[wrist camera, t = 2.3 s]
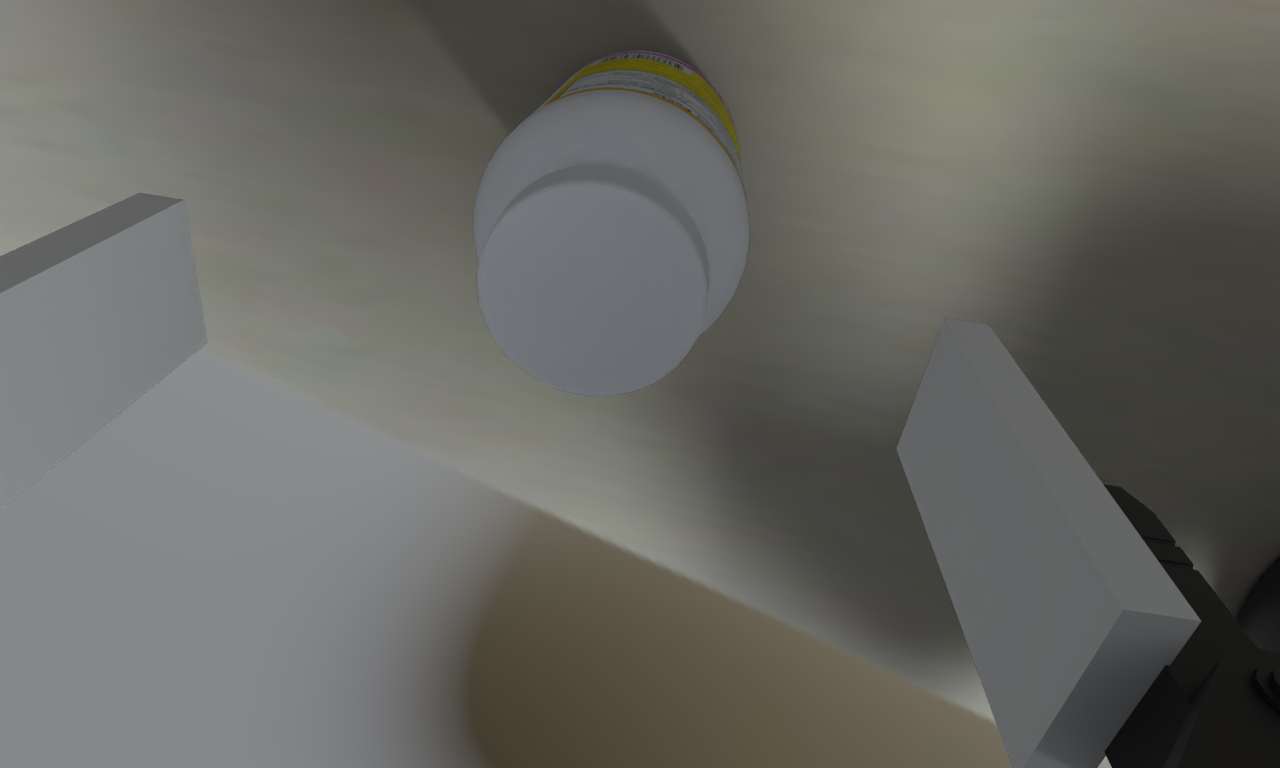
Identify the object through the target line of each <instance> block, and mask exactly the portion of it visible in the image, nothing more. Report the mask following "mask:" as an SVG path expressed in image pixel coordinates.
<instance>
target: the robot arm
mask: <svg viewBox="0 0 1280 768" xmlns="http://www.w3.org/2000/svg"><path fill="white" fill-rule="evenodd" d="M207 342H208V341H207V335H206V329H205V323H204V317H203V311H202V305H201V299H200V293H199V287H198V281H197V275H196V269H195V263H194V257H193V251H192V245H191V239H190V233H189V227H188V221H187V215H186V209H185V203H184V200H182V199H176V198H169V197H163V196H156V195H150V194H144V193H138V194H136V195H134V196H132V197H129V198H127V199H125V200H123V201H121V202H118V203H116V204H114V205H112V206H110V207H107V208H105V209H103V210H101V211H99V212H97V213H94V214H92V215H90V216H88V217H86V218H83V219H81V220H79V221H77V222H75V223H72V224H70V225H68V226H66V227H64V228H61V229H59V230H57V231H55V232H53V233H51V234H48V235H46V236H44V237H42V238H40V239H37V240H35V241H33V242H31V243H29V244H26V245H24V246H22V247H20V248H18V249H16V250H13V251H11V252H9V253H7V254H5V255H2V256H0V512H1V511H2V510H3V509H4V508H5V507H6V506H8V505H9V504H10V503H12V502H13V501H14V500H15V499H17V498H18V497H19V496H20V495H21V494H23V493H24V492H25V491H26V490H28V489H29V488H30V487H31V486H32V485H34V484H35V483H36V482H37V481H39V480H40V479H41V478H42V477H43V476H45V475H46V474H47V473H48V472H50V471H51V470H52V469H53V468H54V467H56V466H57V465H58V464H59V463H61V462H62V461H63V460H64V459H65V458H66V457H68V456H69V455H70V454H72V453H73V452H74V451H75V450H76V449H78V448H79V447H80V446H81V445H83V444H84V443H85V442H86V441H87V440H89V439H90V438H91V437H92V436H94V435H95V434H96V433H97V432H98V431H100V430H101V429H102V428H103V427H105V426H106V425H107V424H108V423H109V422H111V421H112V420H113V419H114V418H116V417H117V416H118V415H119V414H121V413H122V412H123V411H124V410H125V409H126V408H128V407H129V406H130V405H131V404H133V403H134V402H135V401H136V400H137V399H139V398H140V397H141V396H143V395H144V394H145V393H146V392H147V391H148V390H150V389H151V388H152V387H154V386H155V385H156V384H157V383H158V382H160V381H161V380H162V379H163V378H165V376H167V375H168V374H169V373H171V372H172V371H173V370H174V369H175V368H177V367H178V366H179V365H180V364H182V363H183V362H184V361H185V360H186V359H188V358H189V357H190V356H191V355H193V354H194V353H195V352H196V351H198V350H199V349H200V348H201V347H202V346H204V345H205V344H206V343H207ZM896 450H897V452H898V455H899V458H900V460H901V463H902V466H903V469H904V471H905V474H906V477H907V480H908V482H909V485H910V488H911V491H912V493H913V496H914V499H915V502H916V504H917V507H918V510H919V513H920V515H921V518H922V521H923V524H924V526H925V529H926V532H927V534H928V537H929V540H930V543H931V545H932V548H933V551H934V554H935V556H936V559H937V562H938V565H939V567H940V570H941V573H942V576H943V578H944V581H945V584H946V587H947V589H948V592H949V595H950V598H951V600H952V603H953V606H954V608H955V611H956V614H957V617H958V619H959V622H960V625H961V628H962V630H963V633H964V636H965V639H966V641H967V644H968V647H969V650H970V652H971V655H972V658H973V661H974V663H975V666H976V669H977V671H978V674H979V677H980V680H981V682H982V685H983V688H984V691H985V693H986V696H987V699H988V702H989V704H990V707H991V710H992V713H993V715H994V718H995V721H996V724H997V726H998V729H999V732H1000V734H1001V737H1002V740H1003V743H1004V745H1005V748H1006V751H1007V753H1008V756H1009V759H1010V762H1011V764H1012V767H1013V768H1097V767H1098V766H1099V764H1100V763H1101V762H1102V760H1103V759H1104V757H1105V756H1107V758H1108V760H1109V762H1110V764H1111V766H1112V768H1280V559H1279V560H1278V561H1277V562H1276V563H1275V564H1274V565H1273V566H1272V567H1271V568H1270V569H1269V571H1268V572H1267V573H1266V574H1265V575H1264V576H1263V577H1262V579H1261V580H1260V581H1259V582H1258V584H1257V585H1256V586H1255V588H1254V589H1253V591H1252V592H1251V594H1250V595H1249V597H1248V598H1247V600H1246V602H1245V604H1244V606H1243V608H1242V610H1241V612H1240V614H1239V617H1238V620H1237V621H1236V619H1235V618H1234V617H1233V615H1232V614H1231V613H1230V612H1229V610H1228V609H1227V608H1226V606H1225V605H1224V604H1223V602H1222V601H1221V600H1220V599H1219V597H1218V596H1217V595H1216V593H1215V592H1214V591H1213V589H1212V588H1211V587H1210V586H1209V584H1208V583H1207V582H1206V580H1205V579H1204V578H1203V576H1202V575H1201V574H1200V572H1199V571H1198V570H1193V563H1192V562H1191V561H1190V559H1189V558H1188V557H1187V556H1186V554H1185V553H1184V552H1183V550H1182V549H1181V548H1180V547H1177V546H1175V542H1176V541H1175V540H1174V539H1173V537H1172V536H1171V535H1170V533H1169V532H1168V531H1167V530H1166V528H1165V527H1164V526H1163V524H1162V523H1161V522H1160V520H1159V519H1158V518H1157V517H1156V515H1155V514H1154V513H1153V512H1152V511H1150V510H1149V509H1148V508H1147V507H1145V506H1144V505H1143V504H1142V503H1140V502H1139V501H1138V500H1137V499H1135V498H1134V497H1133V496H1131V495H1130V494H1129V493H1128V492H1126V491H1125V490H1124V489H1123V488H1121V487H1117V486H1110V485H1104V484H1103V483H1102V482H1101V481H1100V479H1099V478H1098V476H1097V475H1096V474H1095V472H1094V471H1093V469H1092V468H1091V467H1090V465H1089V464H1088V462H1087V461H1086V460H1085V458H1084V457H1083V455H1082V454H1081V453H1080V451H1079V450H1078V448H1077V447H1076V446H1075V444H1074V443H1073V441H1072V440H1071V439H1070V437H1069V436H1068V435H1067V433H1066V432H1065V430H1064V429H1063V428H1062V426H1061V425H1060V423H1059V422H1058V421H1057V419H1056V418H1055V416H1054V415H1053V414H1052V412H1051V411H1050V409H1049V408H1048V407H1047V405H1046V404H1045V402H1044V401H1043V400H1042V398H1041V397H1040V395H1039V394H1038V393H1037V391H1036V390H1035V388H1034V387H1033V386H1032V384H1031V383H1030V382H1029V380H1028V379H1027V377H1026V376H1025V375H1024V373H1023V372H1022V370H1021V369H1020V368H1019V366H1018V365H1017V363H1016V362H1015V361H1014V359H1013V358H1012V356H1011V355H1010V354H1009V352H1008V351H1007V349H1006V348H1005V347H1004V345H1003V344H1002V342H1001V341H1000V340H999V338H998V337H997V335H996V334H995V333H994V331H993V330H992V328H991V327H990V326H989V325H986V324H980V323H973V322H967V321H960V320H954V319H947V318H945V319H944V321H943V324H942V327H941V329H940V332H939V335H938V338H937V340H936V343H935V346H934V348H933V351H932V354H931V356H930V359H929V362H928V365H927V367H926V370H925V373H924V375H923V378H922V381H921V383H920V386H919V389H918V392H917V394H916V397H915V400H914V402H913V405H912V408H911V411H910V413H909V416H908V419H907V421H906V424H905V427H904V429H903V432H902V435H901V438H900V440H899V443H898V446H897V448H896Z"/></svg>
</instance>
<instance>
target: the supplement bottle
mask: <svg viewBox="0 0 1280 768" xmlns="http://www.w3.org/2000/svg"><path fill="white" fill-rule="evenodd" d="M473 228H474V242H475V249H476V254H477V258H478V262H479V264H478V273H477V293H478V298H479V304H480V308H481V312H482V315H483V317H484V320H485V323H486V325H487V327H488V329H489V331H490V333H491V335H492V337H493V338H494V340H495V342H496V343H497V344H498V346H499V347H500V348H501V350H502V351H503V352H504V353H505V354H506V356H507V357H508V358H509V359H510V360H511V361H513V362H514V363H515V364H516V365H517V366H518V367H519V368H520V369H522V370H523V371H525V372H526V373H527V374H529V375H530V376H532V377H534V378H536V379H537V380H539V381H541V382H543V383H545V384H547V385H549V386H551V387H553V388H556V389H559V390H562V391H565V392H569V393H573V394H578V395H585V396H613V395H620V394H625V393H629V392H633V391H637V390H639V389H642V388H644V387H646V386H649V385H651V384H653V383H655V382H657V381H658V380H660V379H661V378H663V377H665V376H666V375H667V374H668V373H670V372H671V371H672V370H673V369H674V368H675V367H676V366H677V365H679V364H680V363H681V361H682V360H683V359H684V358H685V357H686V355H687V354H688V353H689V352H690V350H691V349H692V347H693V345H694V344H695V342H696V340H697V338H698V336H700V335H701V334H702V333H703V332H705V331H706V330H707V329H708V328H709V327H710V326H711V325H712V324H713V323H714V322H715V321H716V320H717V319H718V317H719V316H720V315H721V314H722V313H723V311H724V310H725V308H726V307H727V305H728V304H729V302H730V301H731V299H732V297H733V295H734V293H735V291H736V289H737V287H738V285H739V282H740V280H741V277H742V274H743V271H744V268H745V264H746V260H747V254H748V246H749V217H748V209H747V202H746V195H745V190H744V184H743V177H742V169H741V164H740V156H739V150H738V143H737V137H736V132H735V128H734V124H733V121H732V118H731V116H730V113H729V111H728V108H727V107H726V105H725V103H724V101H723V100H722V98H721V96H720V94H719V93H718V92H717V90H716V89H715V88H714V87H713V86H712V84H711V83H710V82H709V81H708V80H707V79H706V78H705V77H704V76H703V75H702V74H701V73H699V72H698V71H697V70H695V69H694V68H693V67H691V66H690V65H688V64H686V63H684V62H682V61H681V60H679V59H676V58H674V57H671V56H668V55H665V54H662V53H657V52H651V51H642V50H632V51H623V52H618V53H613V54H610V55H607V56H604V57H601V58H599V59H597V60H595V61H592V62H591V63H589V64H588V65H586V66H584V67H583V68H581V69H580V70H579V71H577V72H576V73H575V74H574V75H572V76H571V77H570V78H569V79H568V80H567V81H566V82H565V83H564V84H562V85H561V86H560V87H559V88H558V89H557V90H556V91H555V92H554V93H553V94H552V95H551V96H550V97H549V98H548V99H547V100H546V101H545V102H544V103H543V104H542V105H541V106H540V107H538V108H537V109H536V110H535V111H534V112H533V113H532V114H531V115H530V116H529V117H527V118H526V119H525V120H524V121H523V122H522V123H520V124H519V125H518V126H517V127H516V128H515V129H514V130H513V131H512V132H511V133H510V134H509V135H508V136H507V137H506V138H505V139H504V141H503V142H502V143H501V145H500V146H499V147H498V149H497V150H496V152H495V153H494V155H493V156H492V158H491V160H490V161H489V163H488V165H487V167H486V169H485V171H484V174H483V176H482V179H481V182H480V185H479V188H478V192H477V196H476V201H475V208H474V220H473Z"/></svg>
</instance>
